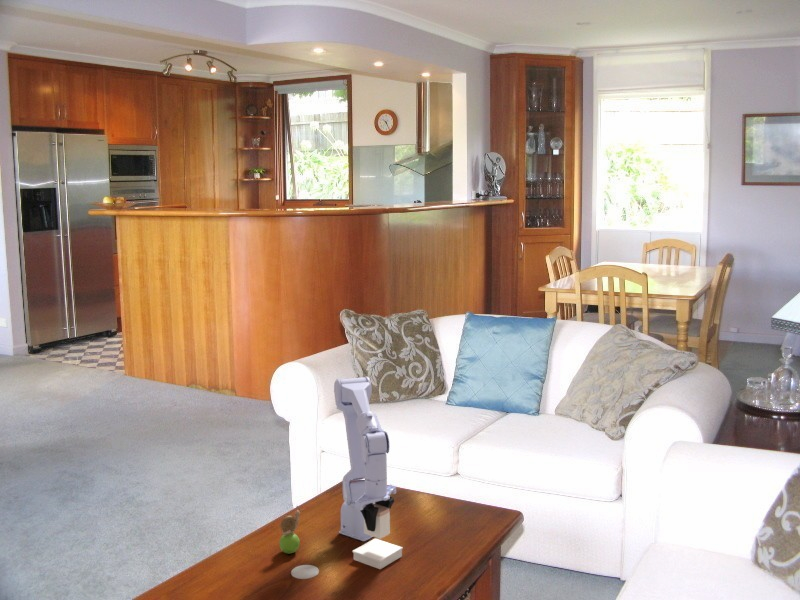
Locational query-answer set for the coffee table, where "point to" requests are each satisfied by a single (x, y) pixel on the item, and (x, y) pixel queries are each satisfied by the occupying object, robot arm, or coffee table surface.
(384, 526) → the carton
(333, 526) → the coffee table surface
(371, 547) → the podium
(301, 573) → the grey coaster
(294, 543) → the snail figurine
